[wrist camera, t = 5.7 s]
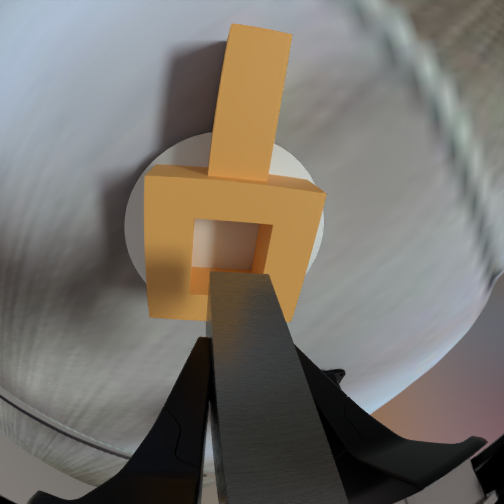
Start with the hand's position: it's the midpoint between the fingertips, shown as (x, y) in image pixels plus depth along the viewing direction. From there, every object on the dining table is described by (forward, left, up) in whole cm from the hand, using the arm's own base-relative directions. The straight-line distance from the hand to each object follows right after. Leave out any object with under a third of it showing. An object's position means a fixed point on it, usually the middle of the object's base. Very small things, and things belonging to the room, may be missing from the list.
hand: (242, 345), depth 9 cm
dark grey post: (0, 0, -3) cm, 2 cm away
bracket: (+3, 0, -10) cm, 10 cm away
